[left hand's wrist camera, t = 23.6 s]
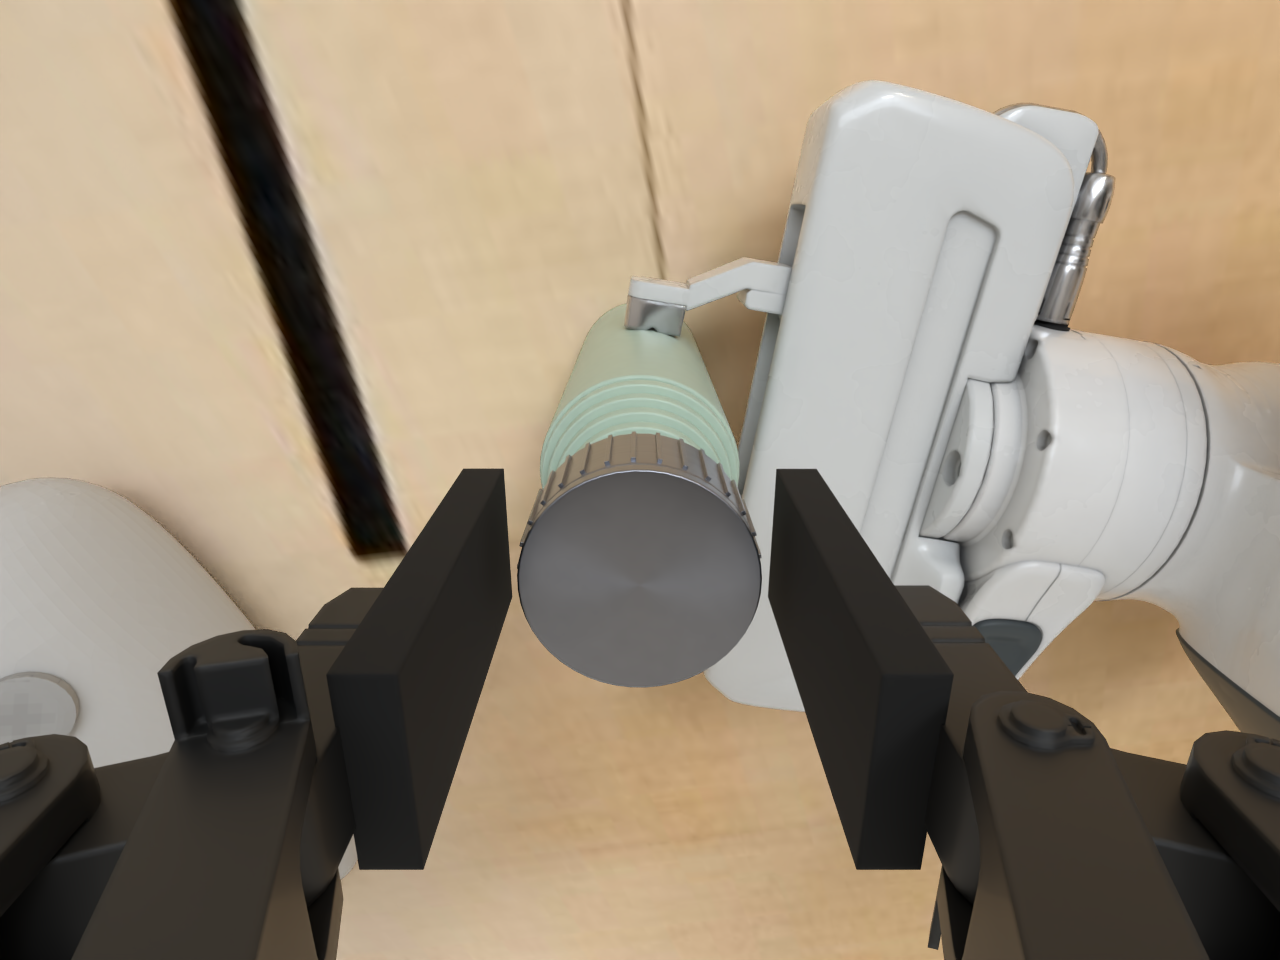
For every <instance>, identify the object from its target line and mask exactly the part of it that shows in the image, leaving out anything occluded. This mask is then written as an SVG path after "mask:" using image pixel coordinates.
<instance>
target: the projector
mask: <svg viewBox="0 0 1280 960" xmlns="http://www.w3.org/2000/svg"><path fill="white" fill-rule="evenodd" d="M242 630H256V629H255V628H254V627H253V625H252V624H251V623H250V622H249V620H248V619H247V618H246V617H245V615H244V614H243V613H242V612H241V611H240V609H239V608H238V607H237V606H236V605H235V603H234V602H233V601H232V600H231V599H230V598H229V596H228V595H227V594H226V593H225V592H224V591H223V589H222V588H221V587H220V586H219V585H218V584H217V583H216V581H215V580H214V579H213V578H212V577H211V576H210V575H209V574H208V573H207V572H206V570H205V569H204V568H203V567H202V566H201V565H200V564H199V563H198V562H197V561H196V560H195V558H194V557H193V556H192V555H191V554H190V553H189V552H188V551H187V550H186V549H185V548H184V547H183V546H182V545H181V544H180V543H179V542H178V541H177V540H176V539H175V538H174V537H173V536H172V535H171V534H170V533H168V532H167V531H166V530H165V529H164V528H163V527H162V526H161V525H159V524H158V523H157V522H156V521H155V520H154V519H153V518H152V517H150V516H149V515H148V514H147V513H145V512H144V511H143V510H141V509H140V508H139V507H137V506H136V505H134V504H133V503H132V502H130V501H129V500H127V499H126V498H124V497H122V496H120V495H119V494H117V493H115V492H113V491H111V490H108V489H106V488H104V487H102V486H99V485H95V484H92V483H88V482H85V481H81V480H74V479H68V478H36V479H29V480H24V481H19V482H15V483H11V484H7V485H3V486H0V745H1V744H4V743H7V742H9V743H10V742H13V740H18V739H22V738H26V737H34V736H42V735H50V734H59V735H67V736H74V737H77V738H78V739H79V740H80V741H82V742H83V743H84V744H86V745H87V747H88V750H89V754H90V757H91V760H92V763H93V766H94V768H97V767H102V766H107V765H112V764H117V763H121V762H126V761H131V760H136V759H141V758H146V757H150V756H155V755H159V754H162V753H166V752H169V751H170V749H171V747H172V745H173V743H174V740H175V739H174V735H173V731H172V727H171V724H170V720H169V716H168V712H167V708H166V705H165V701H164V697H163V693H162V689H161V686H160V682H159V678H158V674H157V673H158V671H159V670H160V669H161V668H162V667H163V666H164V665H165V664H166V663H167V662H168V661H169V660H170V658H172V657H174V656H175V655H177V654H179V653H180V652H182V651H183V650H185V649H187V648H188V647H190V646H192V645H194V644H197V643H199V642H202V641H205V640H207V639H210V638H212V637H215V636H218V635H223V634H227V633H232V632H237V631H242ZM357 859H358V858H357V852H356V846H355V840H354V835H353V836H352V838H351V840H350V842H349V845H348V847H347V849H346V851H345V853H344V856H343V858H342V860H341V862H340V864H339V867H338V869H339V874H340V880H341V879H342V878H344V877H345V876H346V875H347V874H348V873H349V872H350V871H351V869H352V868H353V867H354V865H355V863H356V861H357Z"/></svg>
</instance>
